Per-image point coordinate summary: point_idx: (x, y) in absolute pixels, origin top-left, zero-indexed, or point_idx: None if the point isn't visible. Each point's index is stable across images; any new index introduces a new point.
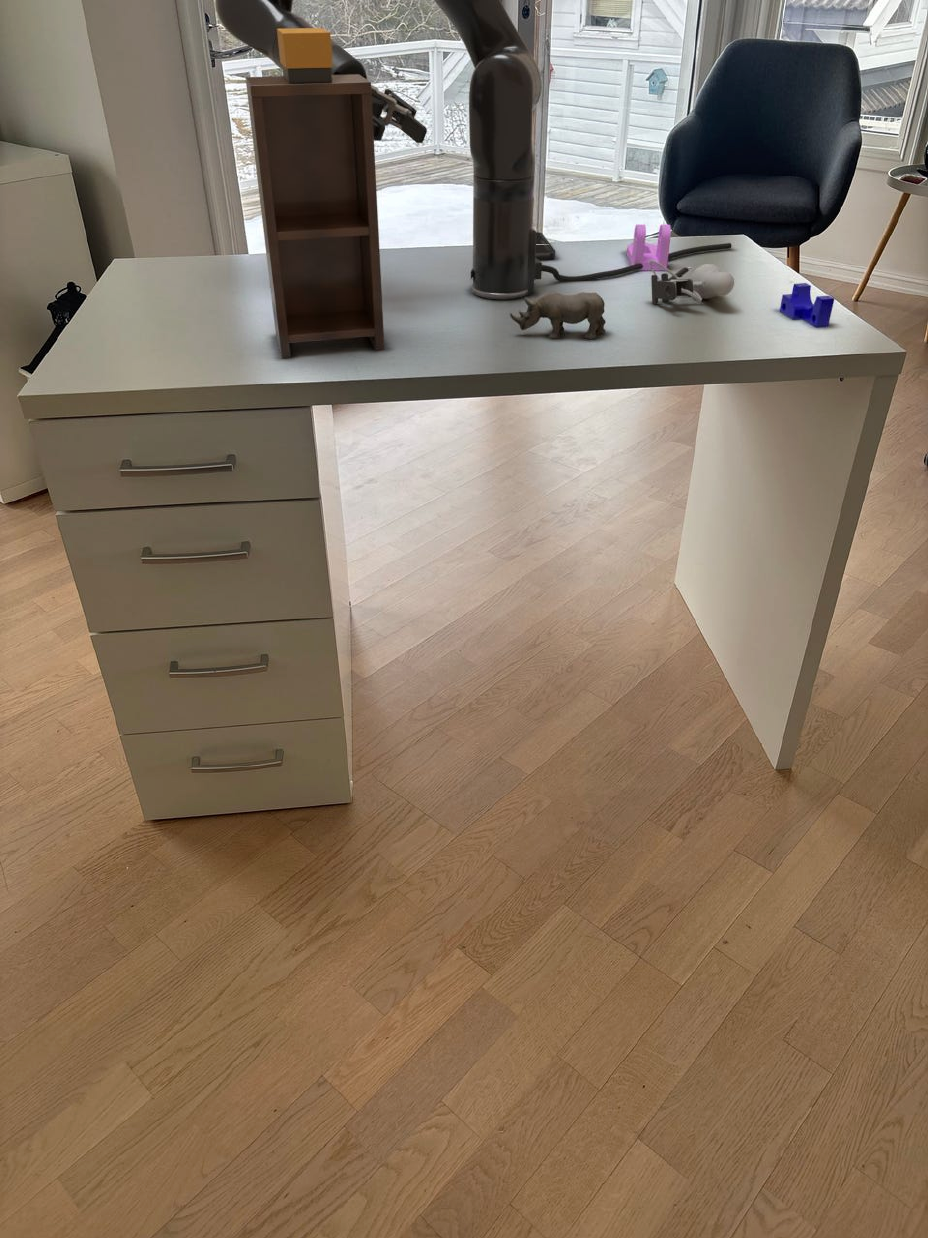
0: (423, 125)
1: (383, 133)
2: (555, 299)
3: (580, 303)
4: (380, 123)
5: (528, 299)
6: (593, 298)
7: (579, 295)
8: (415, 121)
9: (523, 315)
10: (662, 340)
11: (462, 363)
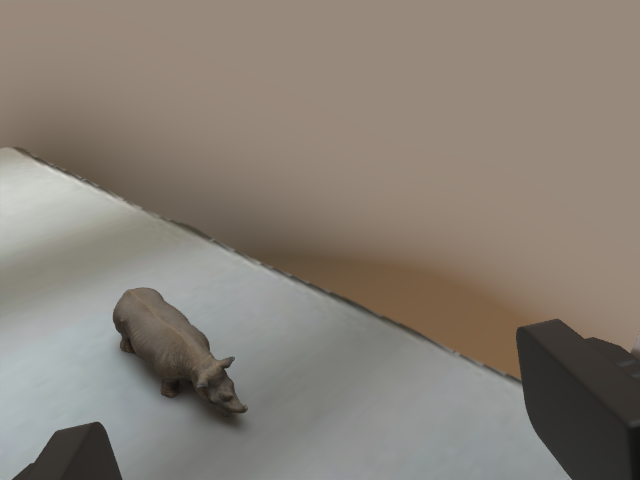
0: (48, 446)
1: (521, 367)
2: (191, 328)
3: (169, 304)
4: (557, 323)
5: (203, 379)
6: (149, 288)
7: (155, 304)
8: (67, 475)
9: (231, 390)
10: (106, 278)
11: (432, 393)
